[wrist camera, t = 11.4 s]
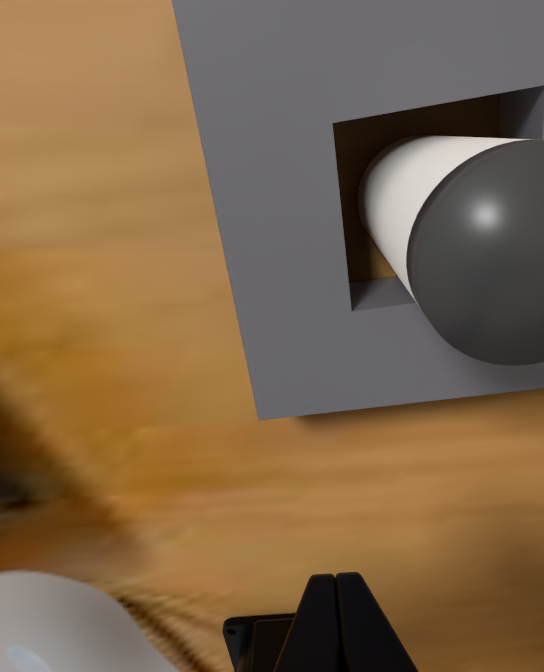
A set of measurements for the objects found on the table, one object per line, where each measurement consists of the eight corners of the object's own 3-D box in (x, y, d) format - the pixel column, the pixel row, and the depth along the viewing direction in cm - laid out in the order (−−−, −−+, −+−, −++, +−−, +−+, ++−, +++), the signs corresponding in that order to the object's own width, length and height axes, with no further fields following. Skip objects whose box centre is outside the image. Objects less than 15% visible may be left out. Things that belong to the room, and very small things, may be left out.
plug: (473, 243, 17) (640, 350, 9) (362, 260, 17) (422, 377, 9) (473, 125, 15) (677, 118, 7) (352, 146, 16) (412, 164, 8)
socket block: (591, 339, 18) (643, 376, 15) (263, 380, 20) (258, 420, 17) (639, -77, 13) (730, -132, 10) (193, 16, 15) (169, -10, 12)
